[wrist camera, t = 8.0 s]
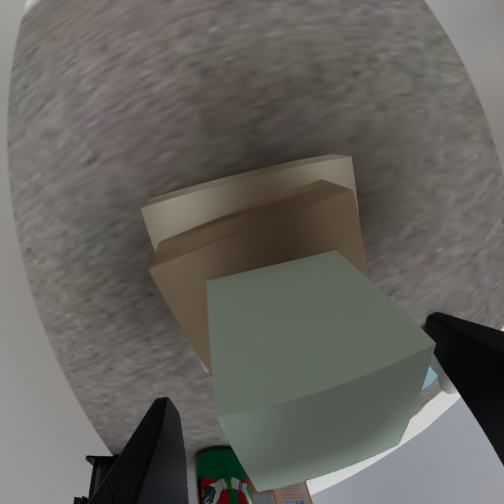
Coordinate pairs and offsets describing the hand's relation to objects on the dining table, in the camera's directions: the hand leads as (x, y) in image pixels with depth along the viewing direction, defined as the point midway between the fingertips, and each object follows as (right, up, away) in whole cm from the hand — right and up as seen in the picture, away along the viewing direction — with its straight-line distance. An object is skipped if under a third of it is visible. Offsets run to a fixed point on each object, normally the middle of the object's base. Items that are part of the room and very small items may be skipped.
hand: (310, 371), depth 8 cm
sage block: (-1, +1, +3) cm, 4 cm away
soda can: (-5, -17, +15) cm, 23 cm away
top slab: (-1, +2, +6) cm, 7 cm away
